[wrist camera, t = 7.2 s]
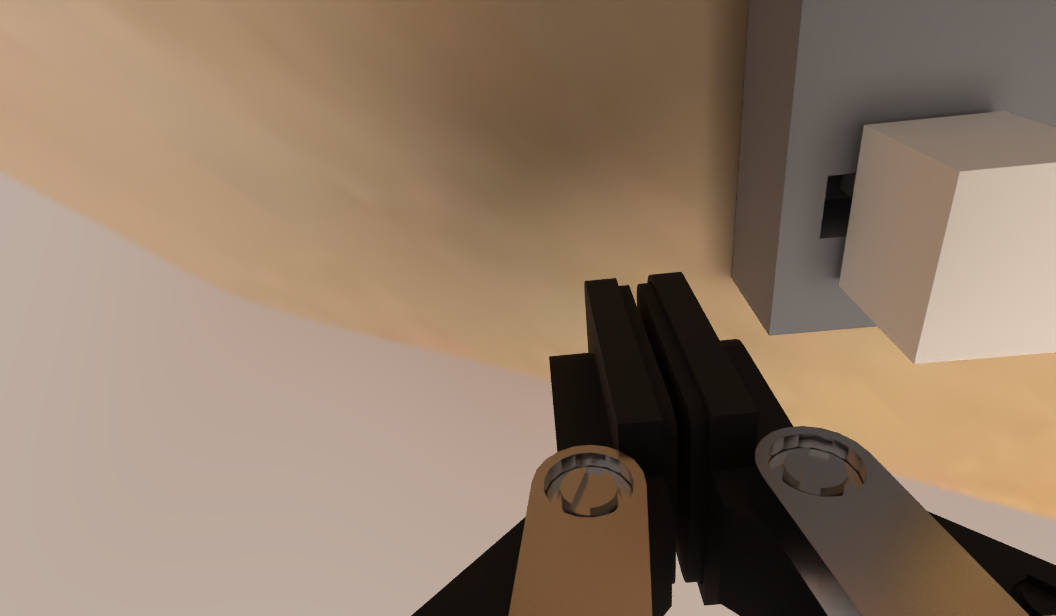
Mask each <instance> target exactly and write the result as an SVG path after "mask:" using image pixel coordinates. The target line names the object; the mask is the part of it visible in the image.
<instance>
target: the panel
mask: <svg viewBox="0 0 1056 616" xmlns="http://www.w3.org/2000/svg"><path fill="white" fill-rule="evenodd" d="M998 111H1005V112H1009V113H1012V114H1015V115H1018V116H1021V117H1024V118H1028V119H1031V120H1034V121H1037V122H1040V123H1043V124H1047V125H1050V126H1053V127H1056V0H749V12H748V27H747V43H746V59H745V74H744V90H743V106H742V121H741V137H740V153H739V168H738V184H737V200H736V215H735V231H734V247H733V262H732V279H733V281H734V282H735V284H736V285H737V287H738V288H739V290H740V292H741V293H742V295H743V296H744V298H745V299H746V301H747V302H748V304H749V305H750V307H751V308H752V310H753V311H754V313H755V315H756V316H757V318H758V319H759V321H760V322H761V324H762V325H763V327H764V328H765V330H766V331H767V333H768V335H780V334H792V333H804V332H815V331H827V330H839V329H850V328H862V327H873V326H877V325H876V324H875V323H874V322H873V321H872V320H871V319H870V318H869V317H868V316H867V315H866V314H865V313H864V312H863V310H862V309H861V308H860V307H859V306H858V305H857V304H856V303H855V302H854V301H853V300H852V299H851V298H850V297H849V296H848V295H847V294H846V293H845V292H844V291H843V290H842V289H841V288H840V287H839V281H840V274H841V268H842V262H843V255H844V249H845V242H846V236H847V230H848V223H849V217H850V211H851V204H852V197H850V196H849V195H847V194H846V193H845V192H843V191H842V190H841V189H840V188H841V182H842V175H843V174H852V173H856V172H857V166H858V160H859V153H860V147H861V140H862V134H863V128H864V125H868V124H878V123H888V122H898V121H908V120H918V119H928V118H938V117H948V116H958V115H968V114H978V113H988V112H998Z"/></svg>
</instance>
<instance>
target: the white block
mask: <svg viewBox="0 0 1056 616" xmlns="http://www.w3.org/2000/svg"><path fill="white" fill-rule="evenodd" d="M840 189H841V190H842V191H843V192H845V193H846V194H847V195H849V196H850V197H852V204H851V211H850V217H849V223H848V230H847V236H846V242H845V249H844V255H843V262H842V268H841V274H840V281H839V287H840V288H841V289H842V290H843V291H844V292H845V293H846V294H847V295H848V296H849V297H850V298H851V299H852V300H853V301H854V302H855V303H856V304H857V305H858V306H859V307H860V308H861V309H862V310H863V312H864V313H865V314H866V315H867V316H868V317H869V318H870V319H871V320H872V321H873V322H874V323H875V324H876V325H877V326H878V327H879V328H880V329H881V330H882V331H883V332H884V333H885V334H886V335H887V336H888V337H889V338H890V340H891V341H892V342H893V343H894V344H895V345H896V346H897V347H898V348H899V349H900V350H901V351H902V352H903V353H904V354H905V355H906V356H907V357H908V358H909V359H910V360H911V361H912V362H913V363H914V364H921V363H933V362H945V361H957V360H969V359H981V358H993V357H1005V356H1017V355H1029V354H1041V353H1053V352H1056V127H1053V126H1050V125H1047V124H1043V123H1040V122H1037V121H1034V120H1031V119H1028V118H1024V117H1021V116H1018V115H1015V114H1012V113H1009V112H1005V111H998V112H988V113H978V114H968V115H958V116H948V117H938V118H928V119H918V120H908V121H898V122H888V123H878V124H868V125H864V128H863V134H862V140H861V147H860V153H859V160H858V166H857V172H856V173H852V174H843V175H842V182H841V188H840Z"/></svg>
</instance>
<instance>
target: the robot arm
mask: <svg viewBox="0 0 1056 616" xmlns="http://www.w3.org/2000/svg"><path fill="white" fill-rule="evenodd" d="M584 285H585V305H586V320H587V336H588V352H589V353H582V354H571V355H561V356H550V357H549V360H550V371H551V383H552V394H553V405H554V417H555V429H556V440H557V451H558V452H557V453H555V454H554V455H552V456H550V457H549V458H547V459H546V460H545V461H544V462H543V463H542V464H541V466H540V467H539V468H538V469H537V470H536V473H535V475H534V478H533V480H532V484H531V490H530V495H529V501H528V507H527V514H526V517H525V518H524V519H523V520H521V521H520V522H519V523H518V524H517V525H516V526H515V527H513V528H512V529H511V530H510V531H509V532H508V533H506V534H505V535H504V536H503V537H502V538H501V539H500V540H498V541H497V542H496V543H495V544H494V545H493V546H491V547H490V548H489V549H488V550H487V551H486V552H485V553H484V554H482V555H481V556H480V557H479V558H478V559H476V560H475V561H474V562H473V563H472V564H471V565H469V566H468V567H467V568H466V569H465V570H464V571H462V572H461V573H460V574H459V575H458V576H457V577H456V578H454V579H453V580H452V581H451V582H450V583H449V584H447V586H445V587H444V588H443V589H442V590H441V591H439V592H438V593H437V594H436V595H435V596H434V597H433V598H431V599H430V600H429V601H428V602H427V603H425V604H424V605H423V606H422V607H421V608H420V609H418V610H417V611H416V612H415V613H414V614H413V615H412V616H664V615H665V613H666V612H667V611H668V610H669V608H670V607H671V606H672V605H671V604H672V584H674V583H675V569H676V553H677V557H678V561H679V564H680V568H681V572H682V575H683V578H684V580H685V582H697V583H698V586H699V589H700V593H701V596H702V599H703V603H704V605H715V604H722V605H724V606H725V607H727V608H728V609H730V610H732V611H733V612H735V613H737V614H738V615H740V616H1056V565H1053V564H1051V563H1049V562H1047V561H1044V560H1042V559H1039V558H1037V557H1035V556H1032V555H1030V554H1028V553H1025V552H1023V551H1020V550H1018V549H1016V548H1013V547H1011V546H1009V545H1006V544H1004V543H1001V542H999V541H997V540H994V539H992V538H989V537H987V536H985V535H982V534H980V533H978V532H975V531H973V530H970V529H968V528H966V527H963V526H961V525H959V524H956V523H954V522H952V521H949V520H947V519H944V518H942V517H940V516H937V515H935V514H933V513H930V512H928V511H926V510H925V509H924V508H923V507H922V506H921V505H920V503H919V502H917V501H916V500H915V498H914V497H913V496H912V495H911V494H910V493H909V492H908V491H907V490H906V489H905V488H904V487H903V486H902V485H901V484H900V483H899V482H898V481H897V480H896V479H895V478H894V477H893V476H892V475H891V474H890V473H889V472H888V471H887V470H886V469H885V468H884V467H883V466H882V465H881V464H880V463H879V462H878V461H877V460H876V459H875V458H874V457H873V456H872V455H871V454H870V453H869V452H868V451H867V450H866V449H864V448H863V447H862V446H861V445H859V444H858V443H857V442H855V441H853V440H851V439H849V438H847V437H845V436H843V435H841V434H839V433H836V432H832V431H829V430H826V429H822V428H815V427H806V426H799V427H793V425H792V424H791V422H790V420H789V419H788V417H787V415H786V414H785V412H784V410H783V409H782V407H781V406H780V404H779V402H778V401H777V399H776V397H775V396H774V394H773V392H772V391H771V389H770V388H769V386H768V384H767V383H766V381H765V379H764V378H763V376H762V374H761V373H760V371H759V369H758V368H757V366H756V365H755V363H754V361H753V360H752V358H751V356H750V355H749V353H748V351H747V350H746V348H745V347H744V345H743V344H742V342H741V341H740V340H737V339H732V340H722V341H720V340H719V338H718V337H717V335H716V333H715V331H714V329H713V328H712V326H711V324H710V322H709V320H708V319H707V317H706V315H705V313H704V311H703V310H702V308H701V306H700V304H699V302H698V301H697V299H696V297H695V295H694V293H693V291H692V290H691V288H690V286H689V284H688V282H687V281H686V279H685V277H684V275H683V274H682V272H675V273H664V274H654V275H649V277H648V283H645V284H638V285H637V306H636V303H635V300H634V298H633V295H632V292H631V289H630V287H629V285H625V286H618V283H617V280H616V278H613V279H602V280H592V281H585V284H584Z"/></svg>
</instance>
